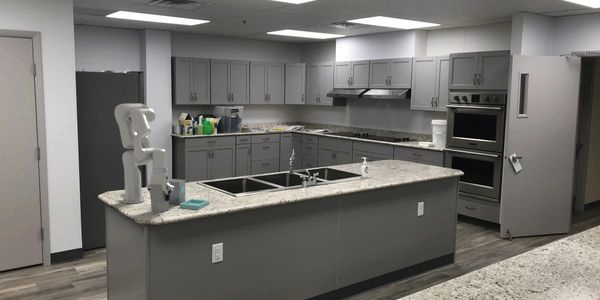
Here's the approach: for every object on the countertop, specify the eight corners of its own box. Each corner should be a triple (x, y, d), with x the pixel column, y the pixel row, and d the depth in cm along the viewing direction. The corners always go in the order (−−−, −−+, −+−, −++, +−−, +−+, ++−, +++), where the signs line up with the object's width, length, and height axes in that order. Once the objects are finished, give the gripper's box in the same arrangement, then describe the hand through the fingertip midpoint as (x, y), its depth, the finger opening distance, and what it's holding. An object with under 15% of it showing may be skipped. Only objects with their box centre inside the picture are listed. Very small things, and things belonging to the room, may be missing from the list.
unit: (164, 203, 294) (163, 181, 292) (172, 200, 302) (171, 178, 301) (180, 205, 291) (179, 182, 289) (187, 202, 299) (187, 179, 297)
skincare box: (162, 208, 284) (162, 181, 282) (170, 210, 279) (169, 183, 277) (150, 211, 277) (149, 183, 275) (157, 213, 273) (157, 185, 271)
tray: (179, 207, 286) (179, 203, 286) (191, 202, 299) (191, 198, 299) (198, 209, 283) (198, 205, 282) (209, 204, 295) (209, 200, 295)
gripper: (176, 170, 276) (176, 199, 278) (150, 168, 281) (150, 197, 283) (169, 172, 269) (169, 202, 271) (142, 170, 274) (143, 200, 276)
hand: (160, 200), depth 277 cm, fingers open, 9 cm apart
